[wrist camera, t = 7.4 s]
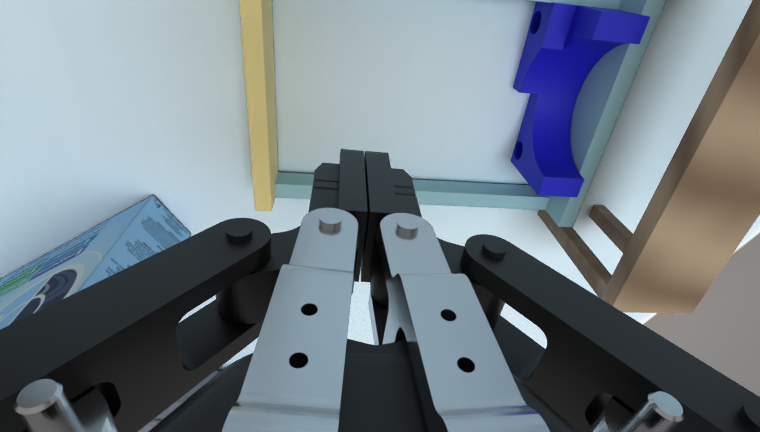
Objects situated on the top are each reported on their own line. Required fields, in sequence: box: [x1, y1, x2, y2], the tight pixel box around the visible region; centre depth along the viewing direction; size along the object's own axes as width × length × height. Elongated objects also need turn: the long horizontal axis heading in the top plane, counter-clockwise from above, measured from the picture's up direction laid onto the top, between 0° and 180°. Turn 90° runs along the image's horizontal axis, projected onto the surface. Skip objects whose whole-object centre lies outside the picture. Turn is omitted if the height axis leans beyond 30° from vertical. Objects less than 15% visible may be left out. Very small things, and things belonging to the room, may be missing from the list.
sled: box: [239, 0, 666, 227], centre depth 29 cm, size 16×25×4 cm, turn 85°
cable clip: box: [511, 1, 650, 197], centre depth 29 cm, size 12×4×6 cm, turn 174°
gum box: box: [0, 196, 191, 329], centre depth 28 cm, size 20×5×23 cm, turn 117°
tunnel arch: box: [538, 0, 760, 313], centre depth 28 cm, size 20×6×12 cm, turn 174°
